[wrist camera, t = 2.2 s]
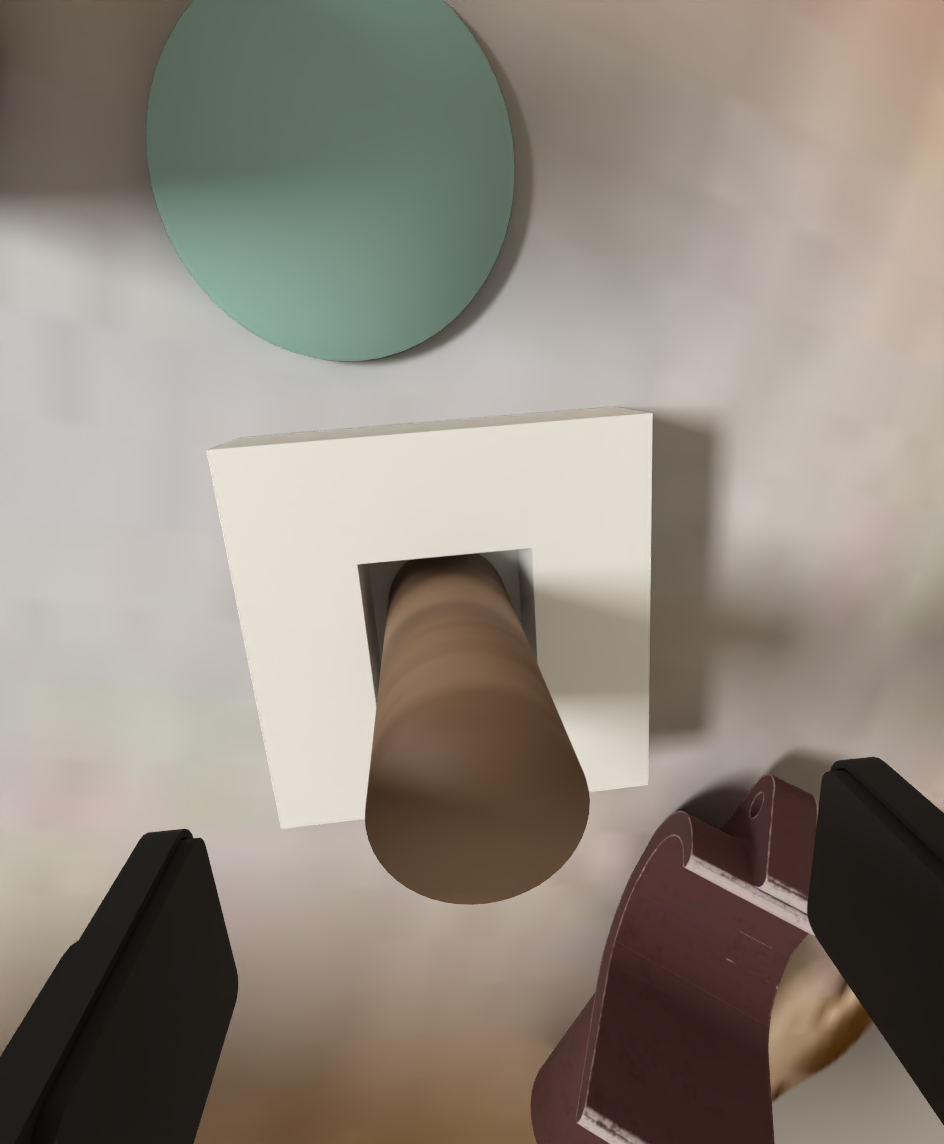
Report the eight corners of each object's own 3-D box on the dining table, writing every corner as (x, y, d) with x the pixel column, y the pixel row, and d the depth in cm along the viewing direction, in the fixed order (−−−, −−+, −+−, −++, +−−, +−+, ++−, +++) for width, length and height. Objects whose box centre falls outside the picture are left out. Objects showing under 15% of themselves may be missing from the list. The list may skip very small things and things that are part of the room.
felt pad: (520, 348, 20) (523, 348, 19) (195, 373, 19) (188, 373, 19) (501, -48, 17) (504, -63, 16) (115, -34, 16) (104, -48, 16)
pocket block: (616, 728, 24) (648, 785, 21) (299, 764, 24) (281, 829, 20) (614, 406, 21) (652, 412, 17) (240, 437, 20) (206, 450, 17)
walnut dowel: (508, 649, 22) (591, 890, 12) (395, 661, 22) (378, 917, 12) (502, 540, 21) (587, 700, 11) (381, 551, 21) (350, 727, 11)
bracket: (874, 811, 23) (968, 1106, 15) (667, 1046, 31) (648, 1333, 22) (713, 733, 24) (711, 964, 16) (552, 979, 32) (490, 1227, 23)
